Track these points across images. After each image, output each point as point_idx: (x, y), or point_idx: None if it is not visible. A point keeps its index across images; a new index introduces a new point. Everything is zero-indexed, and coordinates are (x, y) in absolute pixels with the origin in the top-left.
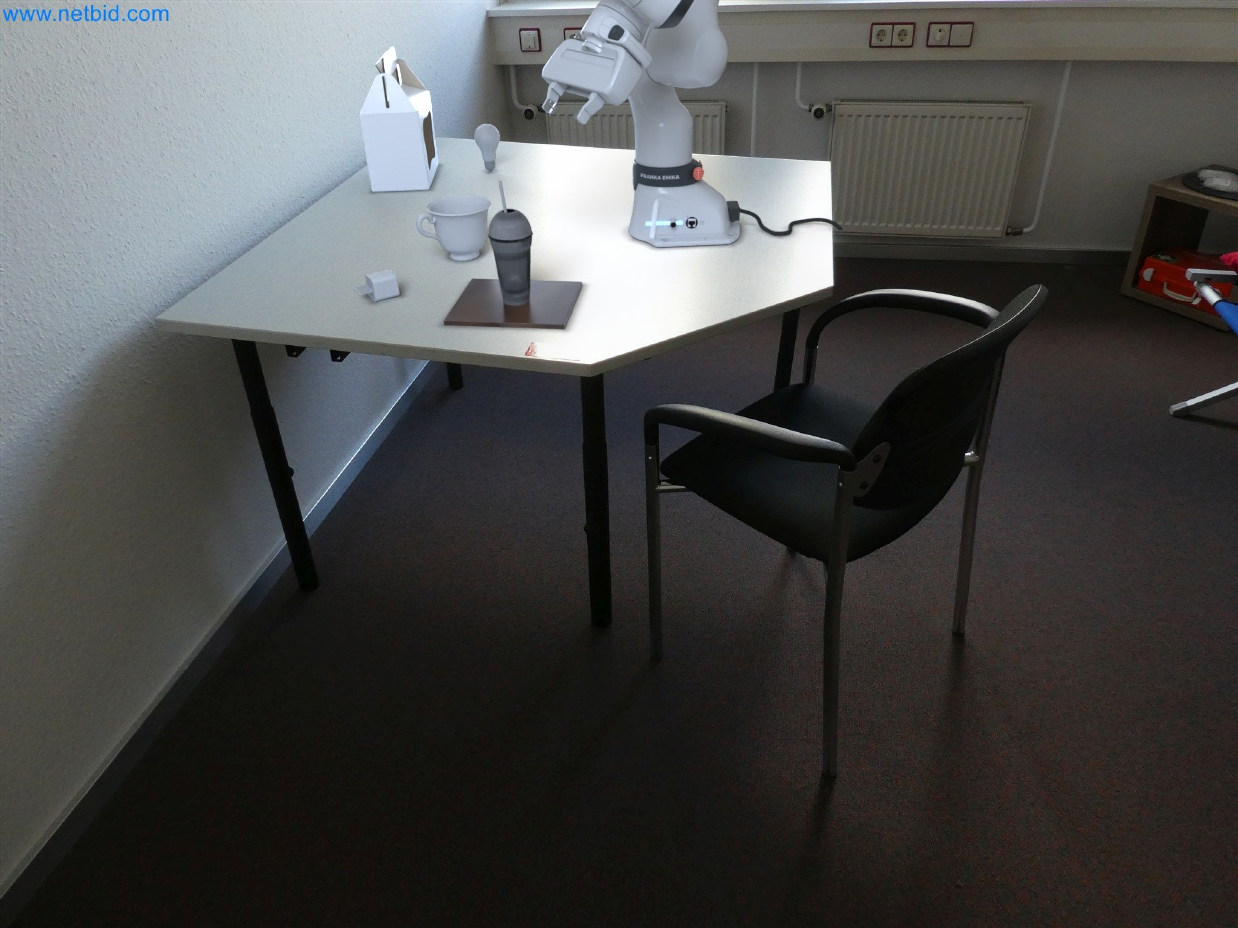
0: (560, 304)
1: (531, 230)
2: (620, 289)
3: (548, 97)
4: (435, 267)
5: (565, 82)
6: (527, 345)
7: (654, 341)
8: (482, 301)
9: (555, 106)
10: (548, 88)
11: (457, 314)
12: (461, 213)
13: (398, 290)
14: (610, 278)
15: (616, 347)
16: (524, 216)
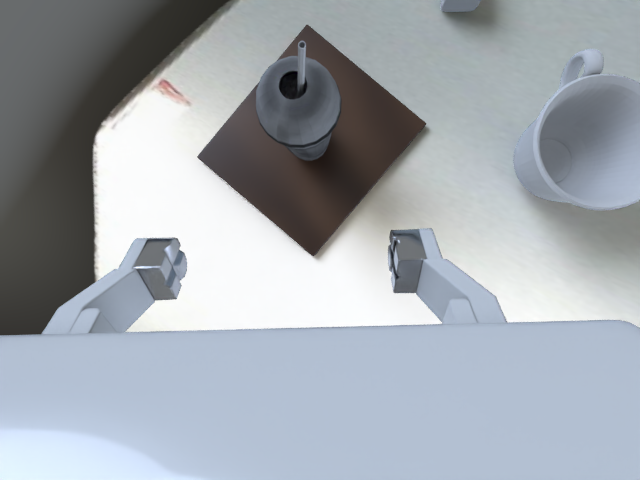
0: (258, 186)
1: (276, 137)
2: (269, 295)
3: (431, 261)
4: (521, 103)
5: (336, 327)
6: (186, 94)
7: (102, 235)
8: None
9: (393, 277)
10: (486, 292)
11: (314, 48)
12: (624, 172)
13: (442, 4)
14: (313, 306)
15: (115, 186)
16: (276, 118)
